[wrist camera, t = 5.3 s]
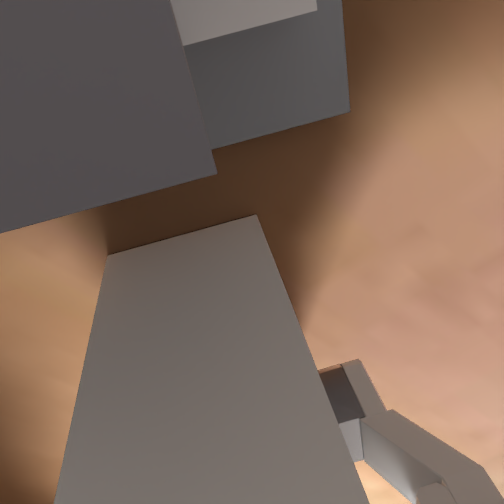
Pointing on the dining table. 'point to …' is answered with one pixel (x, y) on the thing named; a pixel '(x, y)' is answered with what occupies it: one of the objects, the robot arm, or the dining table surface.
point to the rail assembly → (151, 92)
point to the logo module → (202, 384)
